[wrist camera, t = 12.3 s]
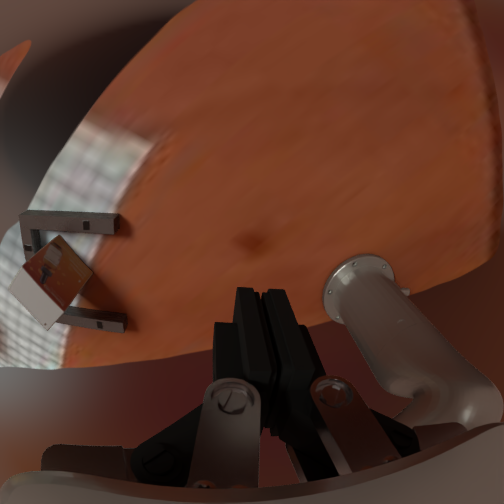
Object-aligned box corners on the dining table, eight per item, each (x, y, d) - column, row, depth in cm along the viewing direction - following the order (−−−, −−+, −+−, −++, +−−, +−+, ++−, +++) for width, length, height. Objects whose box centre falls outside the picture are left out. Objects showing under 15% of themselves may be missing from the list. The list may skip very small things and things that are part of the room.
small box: (94, 272, 38) (66, 313, 28) (75, 291, 39) (47, 333, 29) (59, 232, 35) (21, 265, 25) (41, 255, 36) (6, 289, 26)
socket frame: (119, 213, 35) (111, 220, 32) (127, 323, 42) (123, 335, 39) (27, 209, 32) (16, 216, 30) (46, 311, 39) (39, 321, 37)
